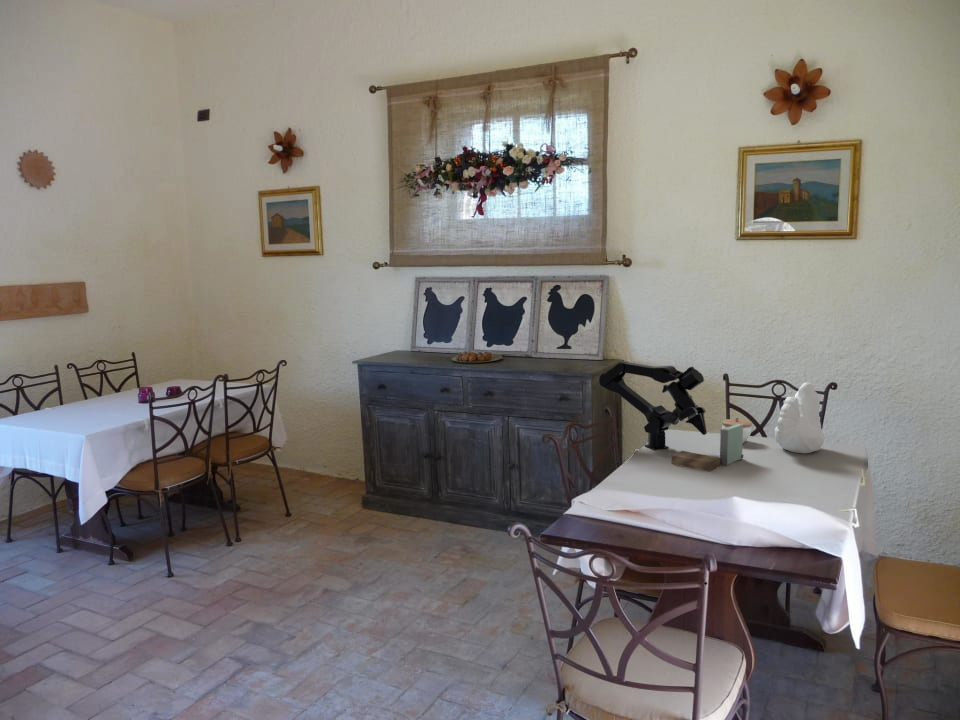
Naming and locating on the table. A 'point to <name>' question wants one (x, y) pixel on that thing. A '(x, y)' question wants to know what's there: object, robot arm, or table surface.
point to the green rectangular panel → (731, 444)
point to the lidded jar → (745, 423)
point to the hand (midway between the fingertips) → (705, 434)
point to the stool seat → (695, 460)
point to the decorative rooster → (800, 422)
